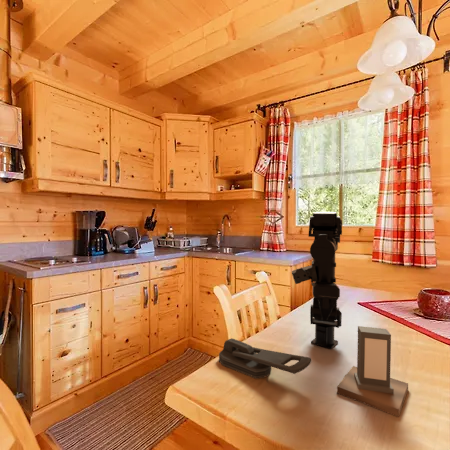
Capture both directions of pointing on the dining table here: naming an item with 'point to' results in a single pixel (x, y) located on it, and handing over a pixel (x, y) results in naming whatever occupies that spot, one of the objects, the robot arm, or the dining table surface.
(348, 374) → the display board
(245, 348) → the zipper pull
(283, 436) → the dining table surface
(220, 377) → the dining table surface
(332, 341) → the robot arm
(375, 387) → the picture frame
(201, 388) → the dining table surface
